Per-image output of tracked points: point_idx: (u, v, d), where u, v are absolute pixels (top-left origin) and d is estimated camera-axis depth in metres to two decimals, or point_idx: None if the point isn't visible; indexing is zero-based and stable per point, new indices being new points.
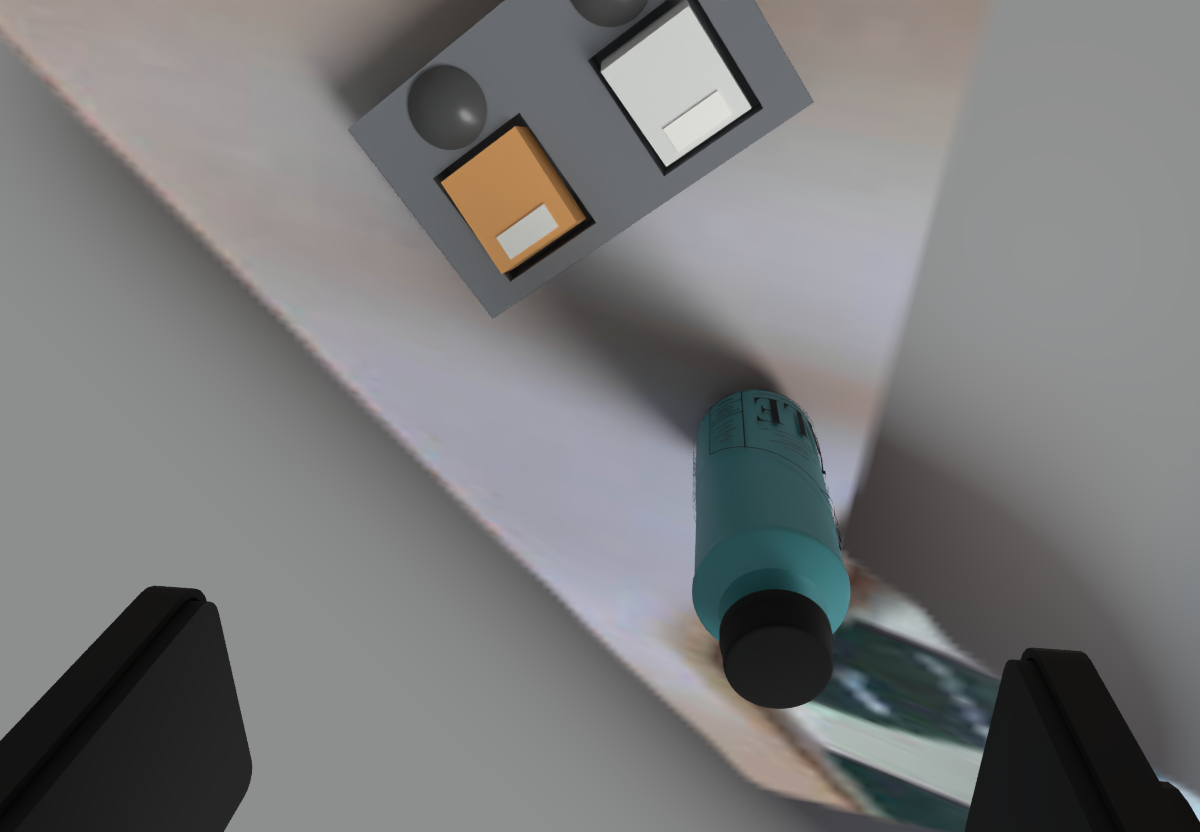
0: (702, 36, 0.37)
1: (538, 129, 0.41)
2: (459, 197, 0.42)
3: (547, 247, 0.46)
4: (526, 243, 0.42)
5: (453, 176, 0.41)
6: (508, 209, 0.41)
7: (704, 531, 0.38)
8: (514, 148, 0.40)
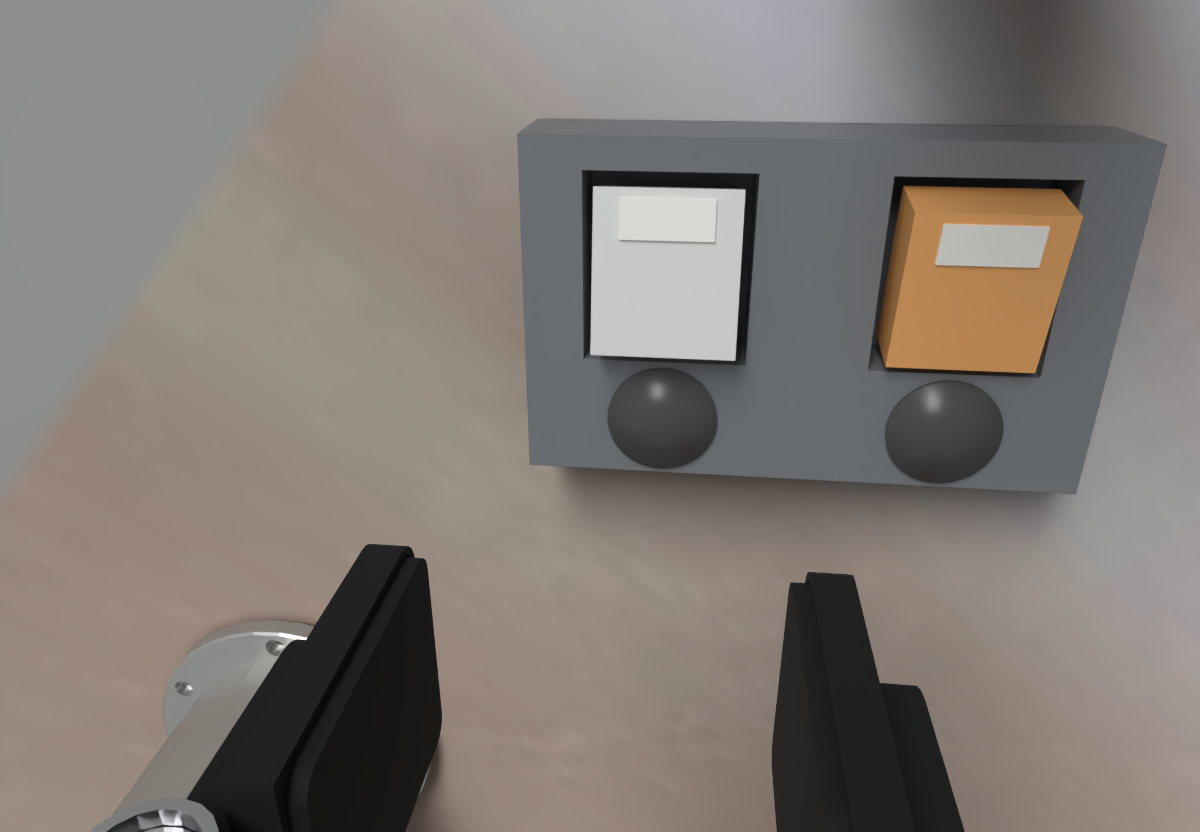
0: (596, 312, 0.27)
1: (863, 337, 0.28)
2: (1032, 342, 0.27)
3: None
4: (1008, 232, 0.25)
5: (1012, 368, 0.27)
6: (985, 287, 0.26)
7: None
8: (909, 346, 0.27)
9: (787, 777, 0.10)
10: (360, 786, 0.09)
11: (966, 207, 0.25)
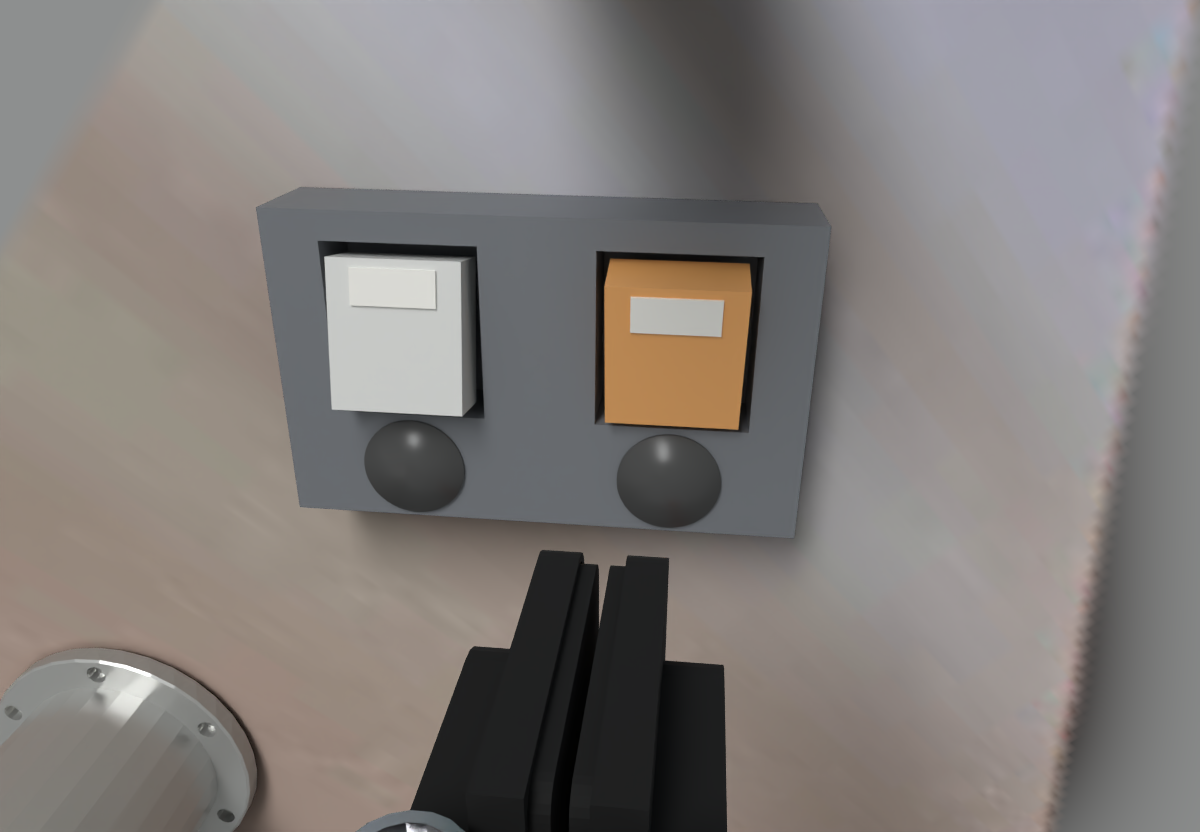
0: (334, 370, 0.29)
1: (586, 395, 0.30)
2: (730, 402, 0.29)
3: None
4: (689, 304, 0.27)
5: (717, 425, 0.30)
6: (679, 353, 0.28)
7: None
8: (622, 404, 0.29)
9: None
10: (569, 797, 0.09)
11: (653, 281, 0.27)
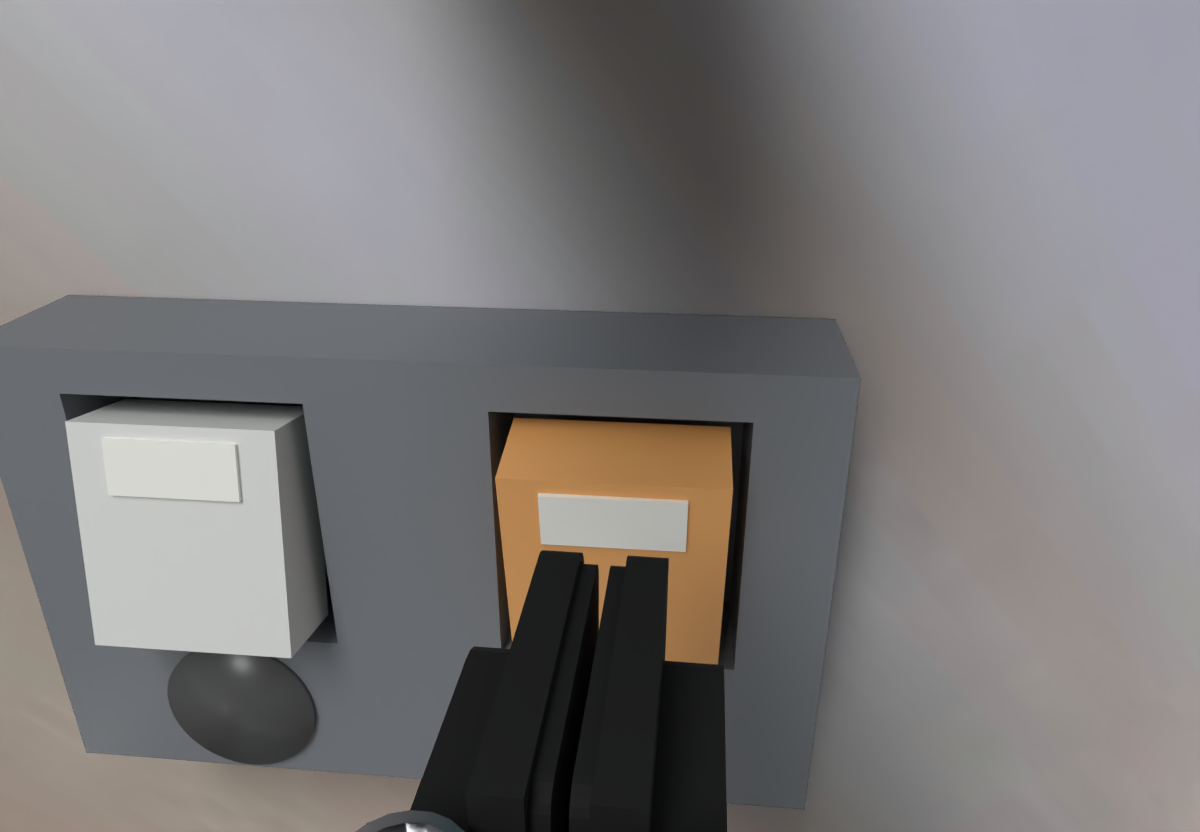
0: (94, 589, 0.19)
1: (487, 614, 0.20)
2: (703, 637, 0.19)
3: None
4: (632, 505, 0.17)
5: None
6: None
7: None
8: None
9: None
10: (568, 796, 0.09)
11: (575, 467, 0.17)
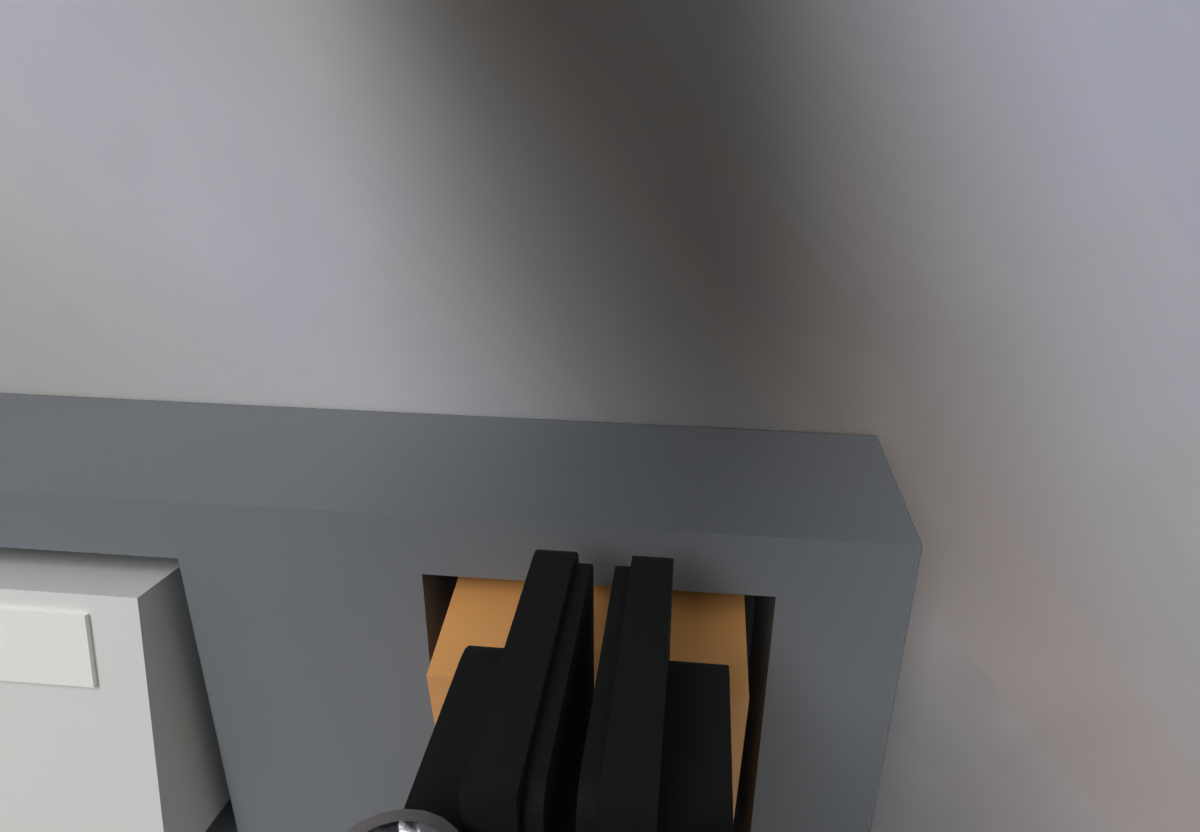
0: None
1: None
2: None
3: None
4: None
5: None
6: None
7: None
8: None
9: None
10: (562, 795, 0.09)
11: None
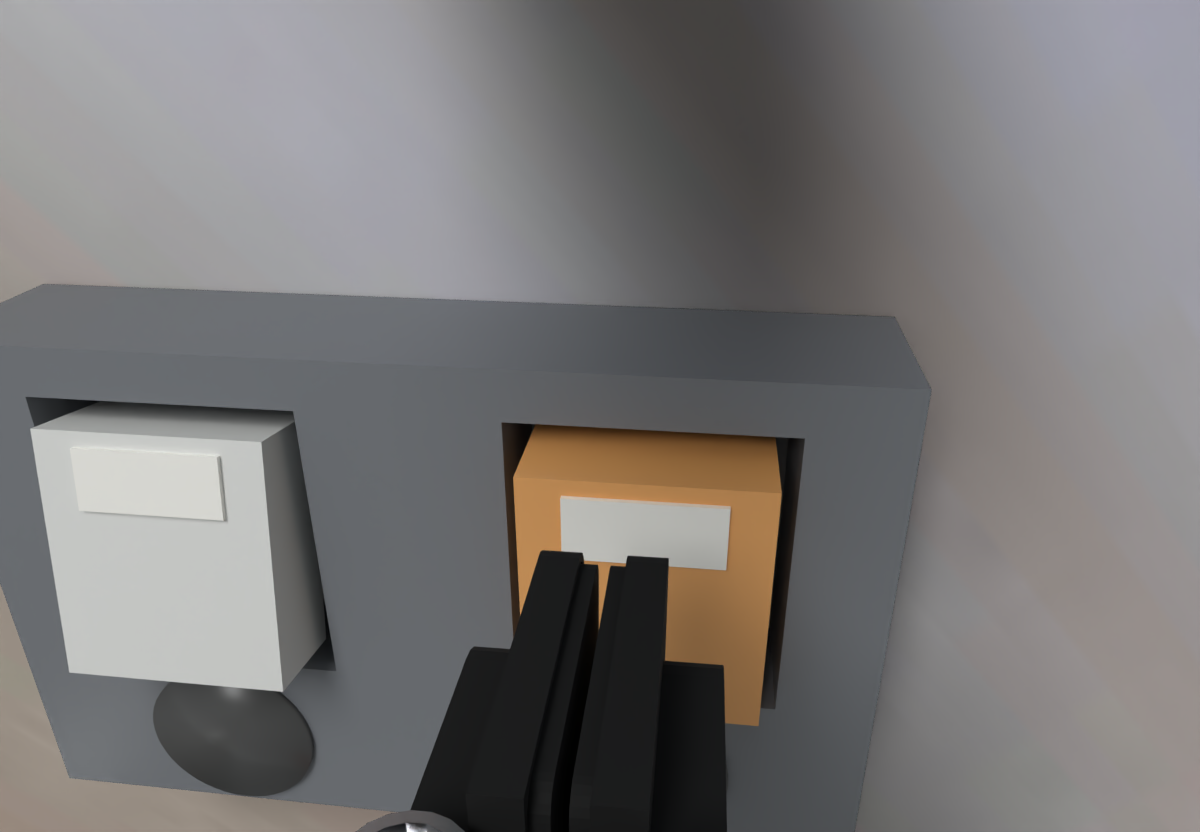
0: (66, 612, 0.17)
1: (500, 643, 0.18)
2: (742, 680, 0.16)
3: None
4: (666, 512, 0.15)
5: None
6: None
7: None
8: None
9: None
10: (568, 796, 0.09)
11: (603, 469, 0.15)
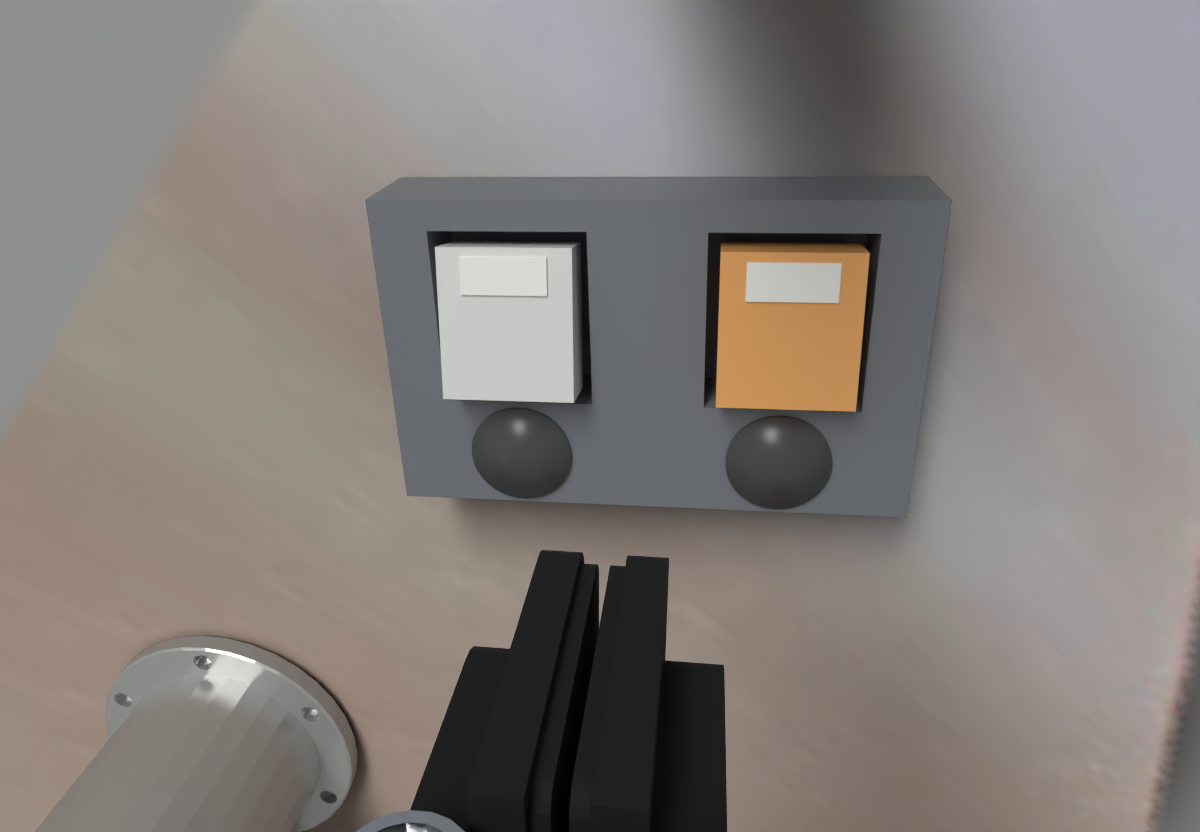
0: (445, 360, 0.30)
1: (696, 378, 0.30)
2: (847, 379, 0.28)
3: None
4: (806, 268, 0.27)
5: (834, 407, 0.28)
6: (795, 324, 0.28)
7: None
8: (734, 385, 0.29)
9: None
10: (569, 796, 0.09)
11: (768, 249, 0.28)
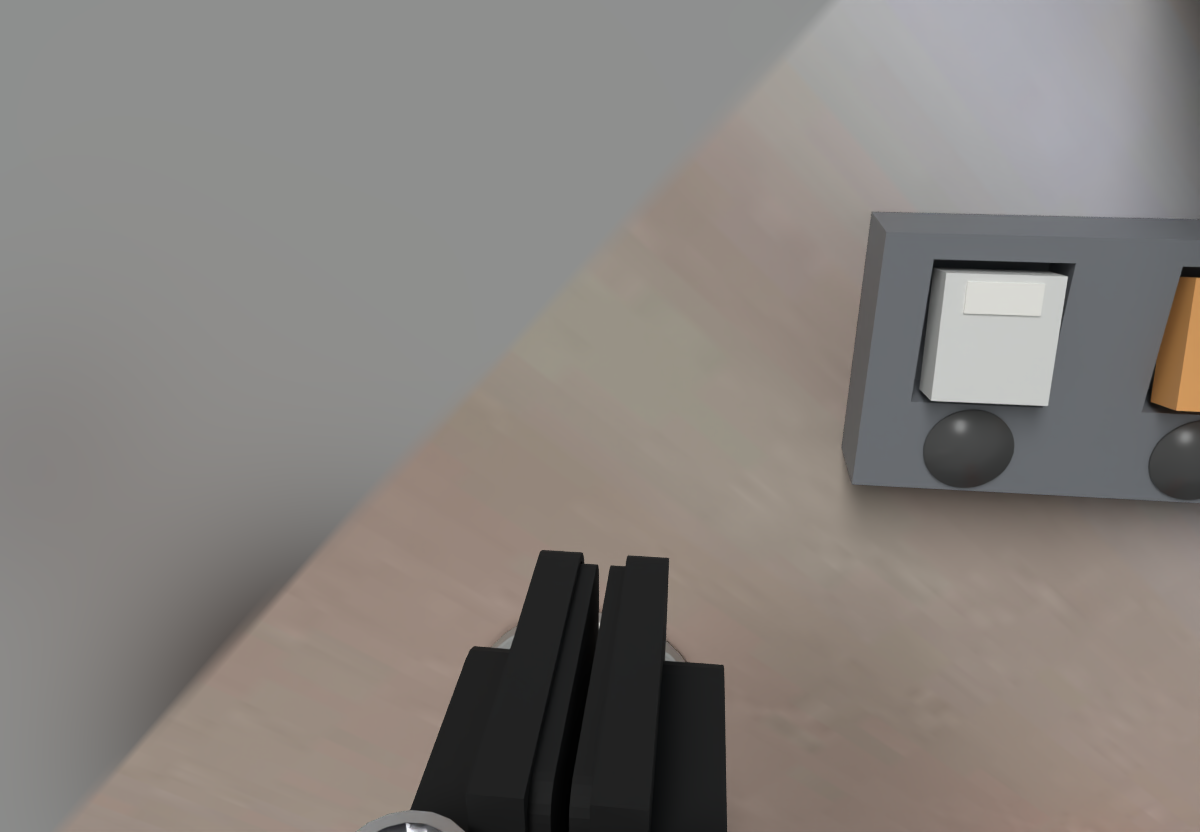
0: (939, 367, 0.35)
1: (1141, 387, 0.36)
2: None
3: None
4: None
5: None
6: None
7: None
8: (1195, 391, 0.34)
9: None
10: (569, 797, 0.09)
11: None
